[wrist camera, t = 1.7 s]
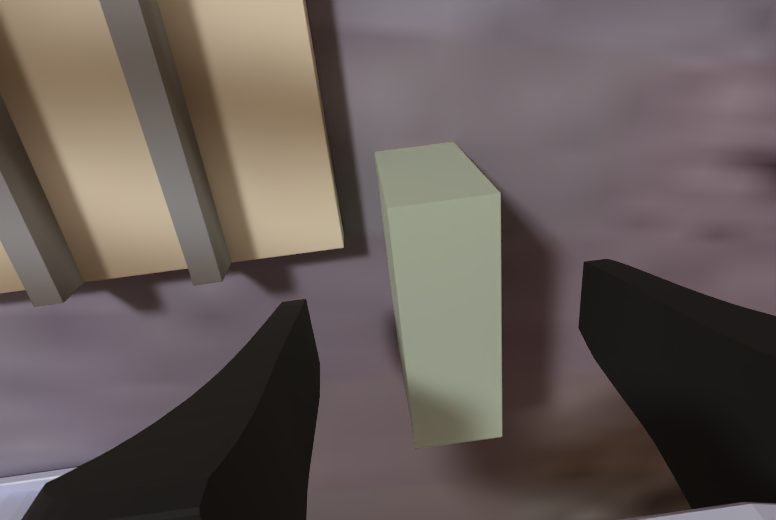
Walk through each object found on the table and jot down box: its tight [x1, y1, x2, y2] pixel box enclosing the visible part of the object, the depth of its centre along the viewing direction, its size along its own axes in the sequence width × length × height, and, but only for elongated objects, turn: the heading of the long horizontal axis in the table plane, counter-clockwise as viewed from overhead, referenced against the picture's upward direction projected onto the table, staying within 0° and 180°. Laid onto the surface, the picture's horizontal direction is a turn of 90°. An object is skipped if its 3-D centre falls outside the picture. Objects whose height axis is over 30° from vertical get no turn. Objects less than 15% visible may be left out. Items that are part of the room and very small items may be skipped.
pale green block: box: [374, 142, 502, 449], centre depth 14 cm, size 7×2×5 cm, turn 6°
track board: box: [0, 0, 344, 307], centre depth 12 cm, size 10×12×2 cm
